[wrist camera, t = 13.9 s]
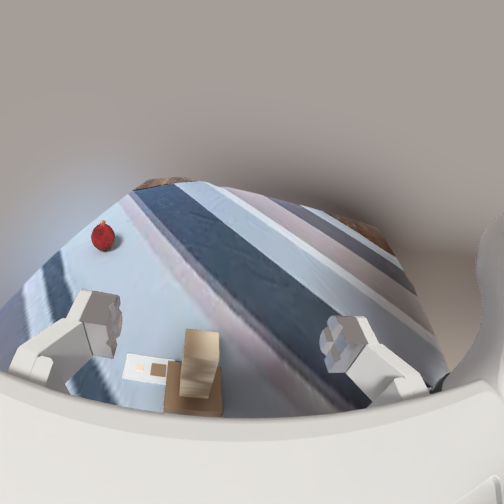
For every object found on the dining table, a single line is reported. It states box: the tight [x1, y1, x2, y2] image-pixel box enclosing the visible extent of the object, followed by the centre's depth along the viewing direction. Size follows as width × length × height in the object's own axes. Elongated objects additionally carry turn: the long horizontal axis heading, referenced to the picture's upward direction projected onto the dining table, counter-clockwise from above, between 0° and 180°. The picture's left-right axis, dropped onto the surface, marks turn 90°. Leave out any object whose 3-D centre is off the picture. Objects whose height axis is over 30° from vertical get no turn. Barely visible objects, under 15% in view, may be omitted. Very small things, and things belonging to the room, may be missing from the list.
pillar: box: [179, 329, 219, 399], centre depth 35 cm, size 4×4×10 cm
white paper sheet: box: [122, 353, 175, 385], centre depth 41 cm, size 8×5×1 cm, turn 96°
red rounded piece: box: [91, 220, 115, 251], centre depth 61 cm, size 6×6×8 cm
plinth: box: [164, 361, 223, 417], centre depth 38 cm, size 8×8×3 cm
